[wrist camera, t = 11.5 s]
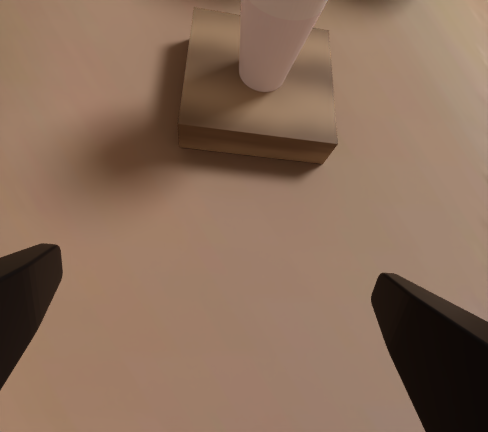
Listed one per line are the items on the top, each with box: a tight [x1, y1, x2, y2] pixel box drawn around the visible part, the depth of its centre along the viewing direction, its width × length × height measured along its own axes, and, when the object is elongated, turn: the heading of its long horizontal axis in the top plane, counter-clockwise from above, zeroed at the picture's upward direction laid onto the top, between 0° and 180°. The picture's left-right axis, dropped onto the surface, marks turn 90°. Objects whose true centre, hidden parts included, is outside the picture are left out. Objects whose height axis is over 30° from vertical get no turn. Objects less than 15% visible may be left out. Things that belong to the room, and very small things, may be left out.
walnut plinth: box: [178, 7, 338, 164], centre depth 27 cm, size 12×12×3 cm
